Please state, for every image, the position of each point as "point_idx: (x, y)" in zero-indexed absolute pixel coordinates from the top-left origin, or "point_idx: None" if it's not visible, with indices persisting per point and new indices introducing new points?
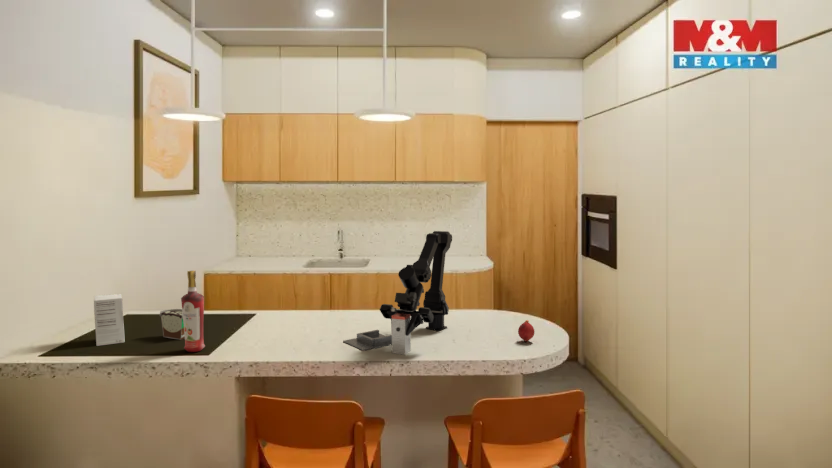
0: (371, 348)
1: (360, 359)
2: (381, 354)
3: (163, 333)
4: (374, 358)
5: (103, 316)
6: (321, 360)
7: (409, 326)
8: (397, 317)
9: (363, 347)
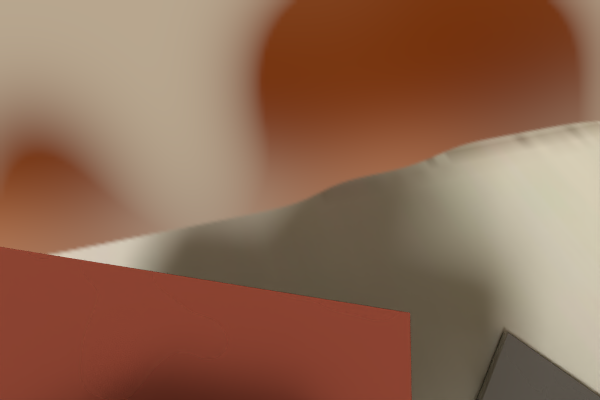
0: (482, 394)
1: (427, 181)
2: (361, 286)
3: None
4: (368, 209)
5: None
6: (574, 138)
7: None
8: (221, 283)
9: (541, 388)
